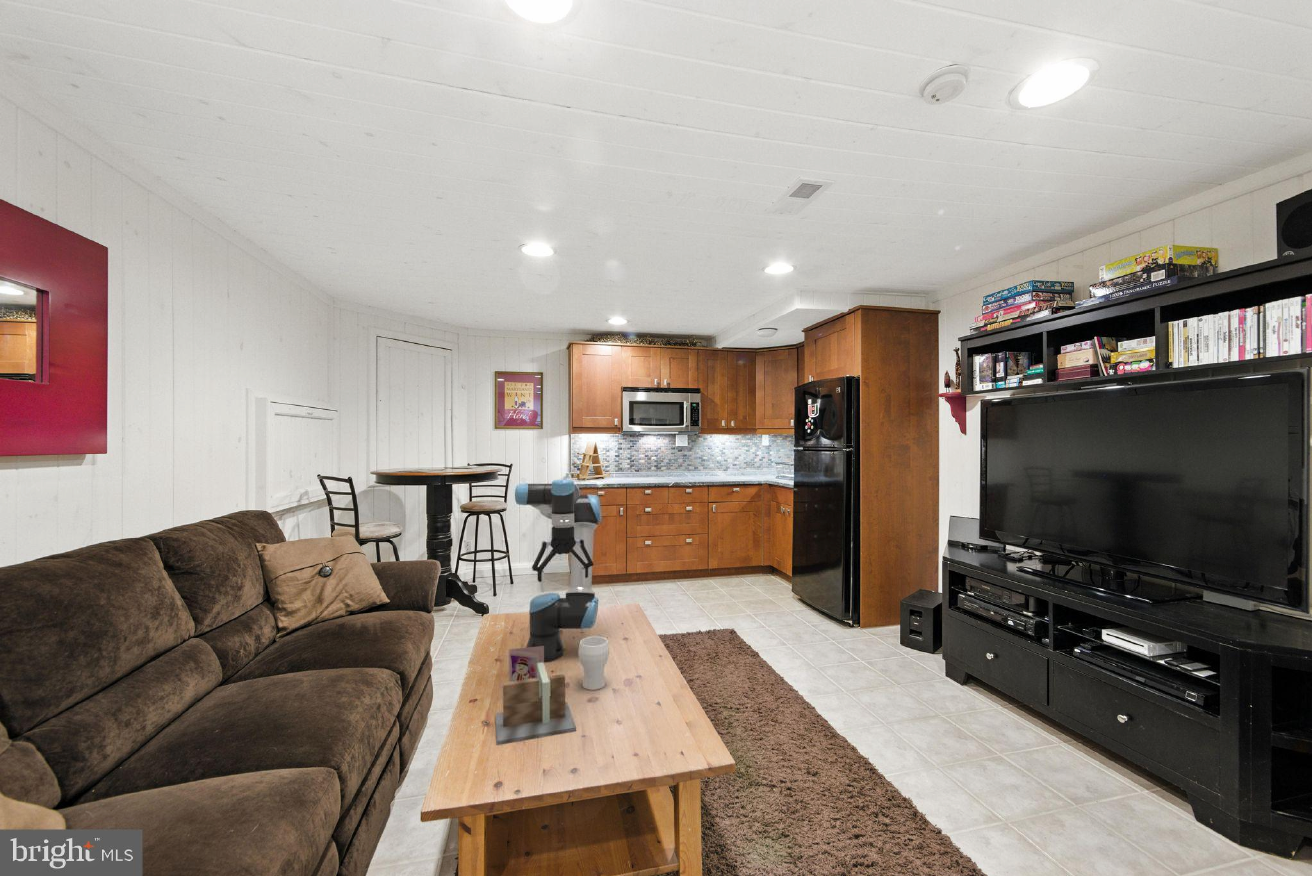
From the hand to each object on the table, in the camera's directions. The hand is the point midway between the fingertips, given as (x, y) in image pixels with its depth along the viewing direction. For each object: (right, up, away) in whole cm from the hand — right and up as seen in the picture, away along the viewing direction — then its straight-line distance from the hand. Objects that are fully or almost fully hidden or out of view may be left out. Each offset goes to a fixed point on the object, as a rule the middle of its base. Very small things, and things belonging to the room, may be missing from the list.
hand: (563, 589), depth 176 cm
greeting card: (-12, -35, 0) cm, 37 cm away
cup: (+10, -35, +6) cm, 37 cm away
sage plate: (-4, -34, -14) cm, 36 cm away
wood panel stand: (-5, -35, -19) cm, 40 cm away
